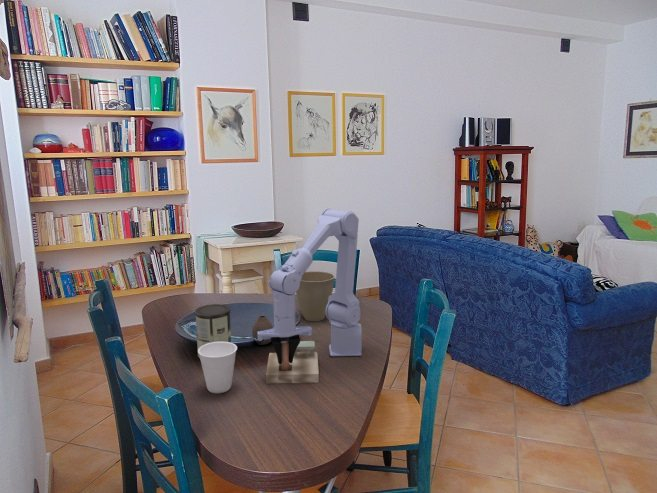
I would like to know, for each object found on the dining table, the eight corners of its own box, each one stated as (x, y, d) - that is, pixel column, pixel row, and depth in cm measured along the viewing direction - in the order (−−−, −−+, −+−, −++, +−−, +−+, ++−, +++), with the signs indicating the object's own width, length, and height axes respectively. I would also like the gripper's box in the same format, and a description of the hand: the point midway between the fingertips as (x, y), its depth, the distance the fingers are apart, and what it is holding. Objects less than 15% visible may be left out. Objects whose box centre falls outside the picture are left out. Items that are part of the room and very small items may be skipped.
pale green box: (314, 360, 145) (314, 341, 144) (314, 366, 141) (314, 346, 140) (292, 360, 145) (292, 341, 144) (292, 366, 141) (292, 346, 140)
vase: (269, 347, 154) (269, 321, 152) (249, 345, 155) (248, 319, 154) (276, 339, 161) (276, 313, 159) (256, 337, 162) (255, 312, 160)
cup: (219, 401, 121) (217, 360, 119) (191, 391, 127) (189, 351, 124) (246, 385, 130) (245, 346, 127) (219, 376, 135) (217, 338, 133)
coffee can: (211, 344, 156) (209, 302, 153) (238, 350, 152) (237, 306, 149) (189, 356, 147) (187, 312, 144) (217, 363, 143) (215, 317, 140)
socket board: (317, 360, 145) (317, 352, 145) (318, 382, 131) (318, 373, 131) (269, 360, 144) (269, 352, 144) (266, 383, 131) (265, 374, 130)
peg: (288, 368, 136) (287, 340, 135) (290, 371, 134) (290, 343, 133) (279, 369, 135) (279, 341, 134) (282, 372, 133) (281, 344, 132)
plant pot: (342, 315, 183) (342, 274, 179) (320, 328, 170) (320, 284, 167) (309, 308, 190) (308, 268, 187) (285, 320, 178) (285, 277, 175)
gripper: (307, 307, 137) (307, 353, 140) (255, 312, 133) (256, 358, 136) (313, 315, 130) (313, 363, 133) (259, 321, 126) (260, 370, 129)
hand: (285, 362), depth 134 cm, fingers closed on peg, 2 cm apart
